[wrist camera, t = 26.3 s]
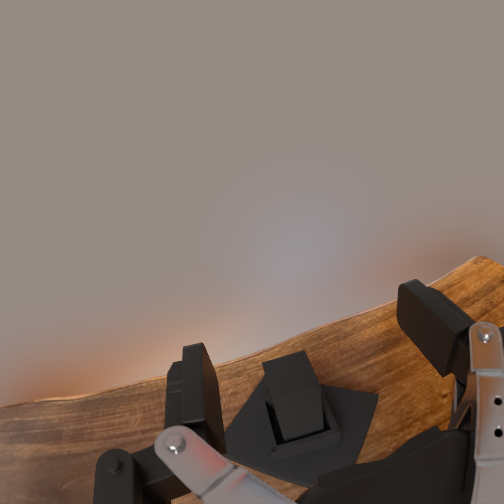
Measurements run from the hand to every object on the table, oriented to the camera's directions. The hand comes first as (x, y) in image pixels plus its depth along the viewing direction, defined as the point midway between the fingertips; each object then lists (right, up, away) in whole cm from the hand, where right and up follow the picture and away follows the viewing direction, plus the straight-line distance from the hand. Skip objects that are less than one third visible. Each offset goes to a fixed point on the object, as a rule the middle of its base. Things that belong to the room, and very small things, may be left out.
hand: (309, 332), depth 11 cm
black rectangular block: (+3, -17, +20) cm, 27 cm away
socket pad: (+4, -19, +21) cm, 28 cm away
